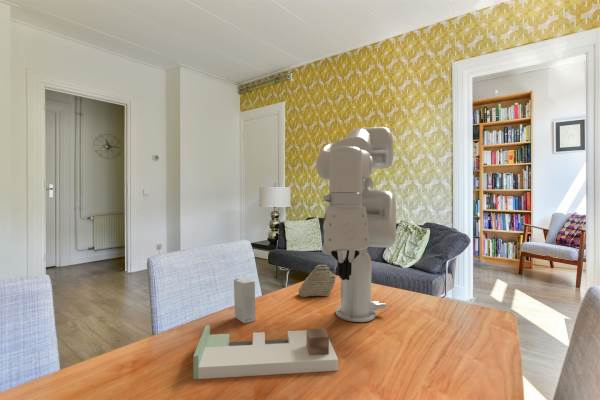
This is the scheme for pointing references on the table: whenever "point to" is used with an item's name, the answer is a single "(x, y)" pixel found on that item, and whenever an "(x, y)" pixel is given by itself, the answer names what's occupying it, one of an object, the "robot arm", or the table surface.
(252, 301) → the skincare box
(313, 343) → the walnut block
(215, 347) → the board
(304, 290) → the fossil tooth
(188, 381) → the table surface
